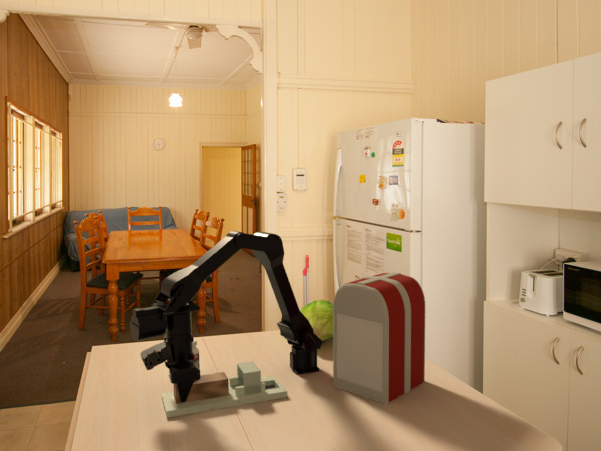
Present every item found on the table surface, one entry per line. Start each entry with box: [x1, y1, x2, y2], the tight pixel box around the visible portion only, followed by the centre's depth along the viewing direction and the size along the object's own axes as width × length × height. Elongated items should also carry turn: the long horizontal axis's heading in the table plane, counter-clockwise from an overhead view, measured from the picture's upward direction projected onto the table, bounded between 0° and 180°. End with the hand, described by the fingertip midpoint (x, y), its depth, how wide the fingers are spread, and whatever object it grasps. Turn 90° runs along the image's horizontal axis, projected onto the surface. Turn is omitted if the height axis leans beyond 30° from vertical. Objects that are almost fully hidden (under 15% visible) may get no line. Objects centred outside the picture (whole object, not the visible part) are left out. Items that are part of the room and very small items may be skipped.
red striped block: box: [332, 271, 426, 405], centre depth 132 cm, size 17×18×27 cm
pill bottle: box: [191, 337, 201, 370], centre depth 139 cm, size 6×6×10 cm
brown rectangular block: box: [172, 371, 230, 404], centre depth 124 cm, size 12×4×4 cm, turn 110°
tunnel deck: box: [161, 360, 288, 419], centre depth 126 cm, size 28×10×7 cm, turn 110°
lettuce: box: [300, 299, 333, 342], centre depth 166 cm, size 13×23×12 cm, turn 170°
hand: (181, 397), depth 123 cm, fingers closed on brown rectangular block, 4 cm apart
